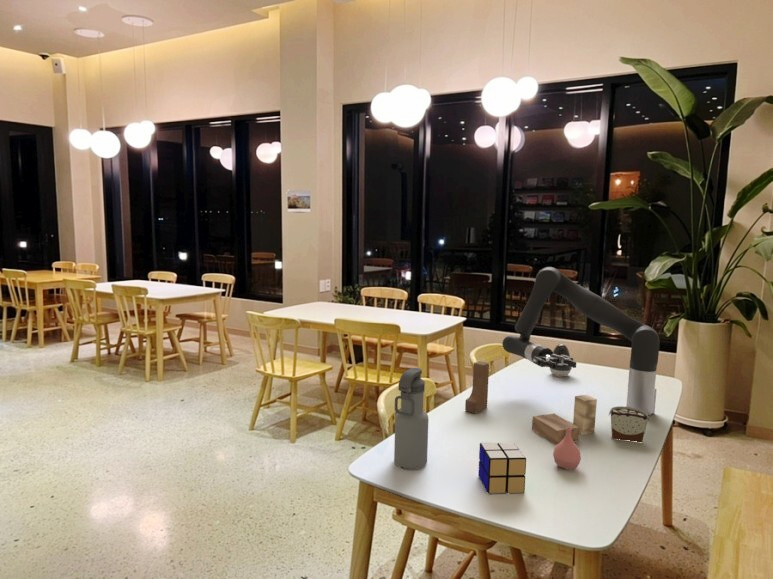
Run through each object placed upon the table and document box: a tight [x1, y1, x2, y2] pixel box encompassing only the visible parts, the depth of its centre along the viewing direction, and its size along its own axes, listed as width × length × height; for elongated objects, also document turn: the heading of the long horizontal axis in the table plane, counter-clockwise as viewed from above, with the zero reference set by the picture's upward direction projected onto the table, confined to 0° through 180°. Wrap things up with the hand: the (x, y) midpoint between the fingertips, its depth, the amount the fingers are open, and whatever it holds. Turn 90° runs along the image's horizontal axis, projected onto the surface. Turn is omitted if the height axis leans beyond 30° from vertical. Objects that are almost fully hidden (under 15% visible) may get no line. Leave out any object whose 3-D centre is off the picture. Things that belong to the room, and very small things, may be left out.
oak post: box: [572, 394, 598, 435], centre depth 177 cm, size 5×5×12 cm
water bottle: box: [393, 367, 429, 470], centre depth 149 cm, size 10×10×28 cm
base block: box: [531, 413, 580, 445], centre depth 173 cm, size 9×13×5 cm
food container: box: [608, 405, 651, 443], centre depth 172 cm, size 12×6×10 cm, turn 71°
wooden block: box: [464, 360, 490, 414], centre depth 195 cm, size 9×4×18 cm, turn 138°
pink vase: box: [552, 427, 582, 470], centre depth 149 cm, size 8×8×12 cm
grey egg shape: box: [549, 343, 573, 378], centre depth 244 cm, size 10×10×15 cm
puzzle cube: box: [477, 441, 527, 494], centre depth 139 cm, size 10×10×10 cm
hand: (565, 365), depth 186 cm, fingers open, 8 cm apart
